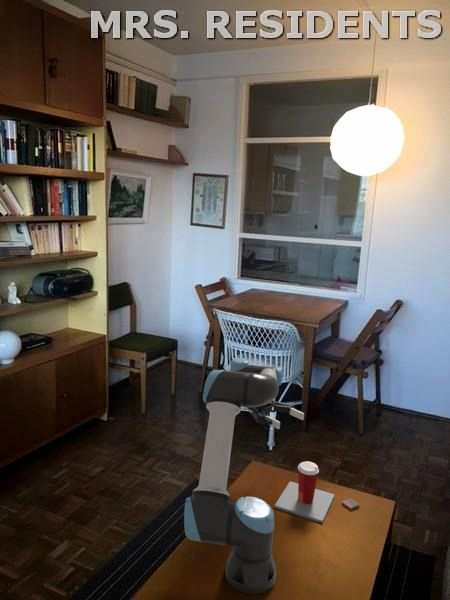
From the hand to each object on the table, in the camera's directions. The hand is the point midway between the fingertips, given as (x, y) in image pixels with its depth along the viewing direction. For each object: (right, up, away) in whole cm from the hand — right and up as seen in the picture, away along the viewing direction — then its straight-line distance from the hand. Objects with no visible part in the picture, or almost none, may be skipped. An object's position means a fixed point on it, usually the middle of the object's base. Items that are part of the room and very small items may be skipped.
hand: (291, 421), depth 186 cm
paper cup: (+5, -29, -2) cm, 30 cm away
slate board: (+5, -30, -1) cm, 31 cm away
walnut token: (+22, -32, -2) cm, 39 cm away
